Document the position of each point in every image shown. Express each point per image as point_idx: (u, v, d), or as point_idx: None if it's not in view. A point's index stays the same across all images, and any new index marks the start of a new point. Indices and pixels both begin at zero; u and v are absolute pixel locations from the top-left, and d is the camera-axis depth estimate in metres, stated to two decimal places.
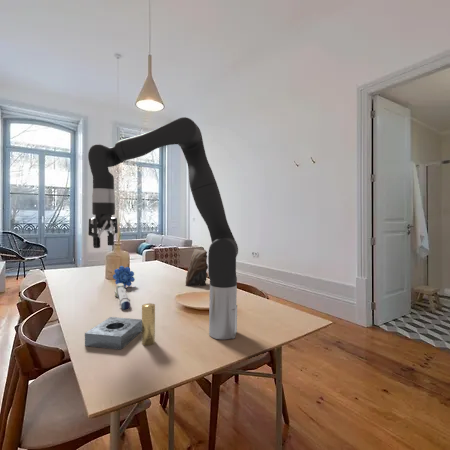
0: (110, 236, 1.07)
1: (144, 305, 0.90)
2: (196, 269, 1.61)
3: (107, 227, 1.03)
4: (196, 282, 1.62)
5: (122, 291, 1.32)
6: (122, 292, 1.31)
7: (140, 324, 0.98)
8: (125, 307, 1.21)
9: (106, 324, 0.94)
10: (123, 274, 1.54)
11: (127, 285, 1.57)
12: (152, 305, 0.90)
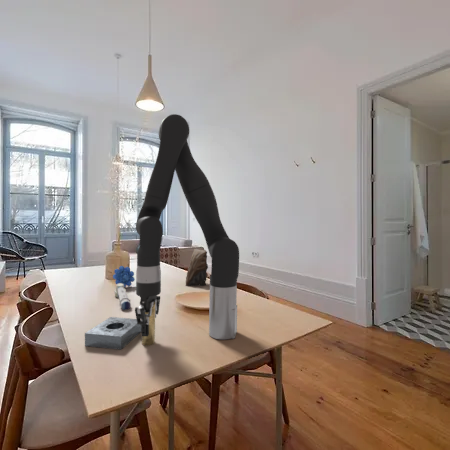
0: None
1: None
2: (196, 269, 1.61)
3: None
4: (196, 282, 1.62)
5: (122, 291, 1.31)
6: (122, 292, 1.30)
7: None
8: (125, 307, 1.20)
9: (106, 324, 0.94)
10: (123, 274, 1.54)
11: (127, 285, 1.57)
12: None
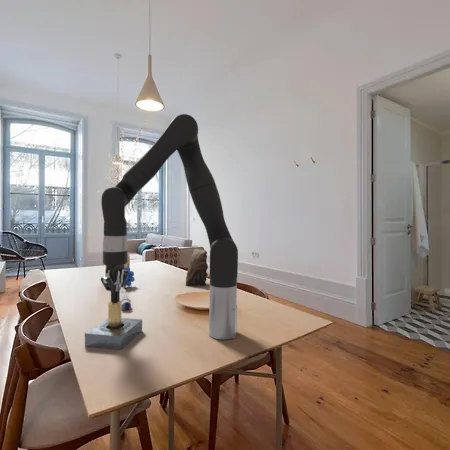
0: None
1: (111, 302, 0.93)
2: (196, 269, 1.61)
3: None
4: (196, 282, 1.62)
5: (122, 292, 1.31)
6: (122, 292, 1.30)
7: (140, 324, 0.98)
8: (126, 308, 1.20)
9: (106, 324, 0.94)
10: None
11: (127, 285, 1.57)
12: (118, 302, 0.93)
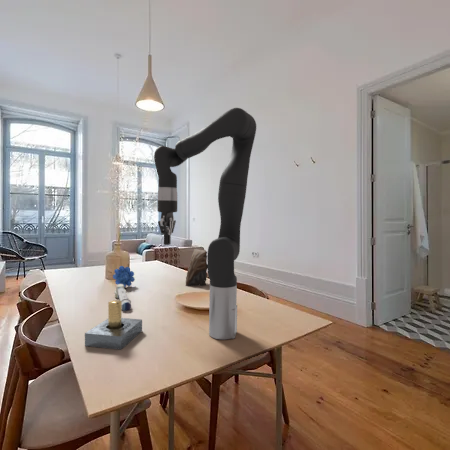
0: None
1: (111, 302, 0.93)
2: (196, 269, 1.61)
3: None
4: (196, 282, 1.62)
5: (122, 292, 1.30)
6: (123, 293, 1.29)
7: (140, 324, 0.98)
8: (126, 308, 1.19)
9: (106, 324, 0.94)
10: (123, 274, 1.54)
11: (127, 285, 1.57)
12: (118, 302, 0.93)
